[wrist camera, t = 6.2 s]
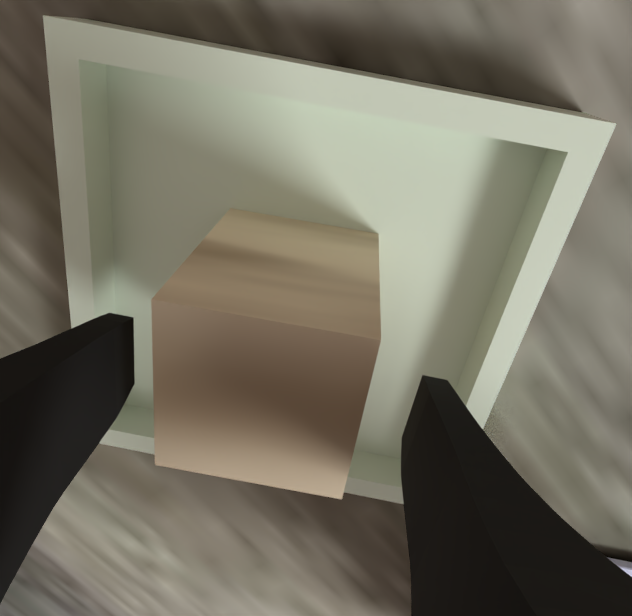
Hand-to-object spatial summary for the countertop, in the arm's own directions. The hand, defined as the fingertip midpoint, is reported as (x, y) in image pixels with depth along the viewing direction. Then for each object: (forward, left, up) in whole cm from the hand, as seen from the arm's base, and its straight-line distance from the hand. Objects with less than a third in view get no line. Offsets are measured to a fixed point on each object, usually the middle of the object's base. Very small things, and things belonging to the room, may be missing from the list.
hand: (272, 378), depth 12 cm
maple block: (0, 0, -4) cm, 4 cm away
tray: (0, 0, -5) cm, 5 cm away
